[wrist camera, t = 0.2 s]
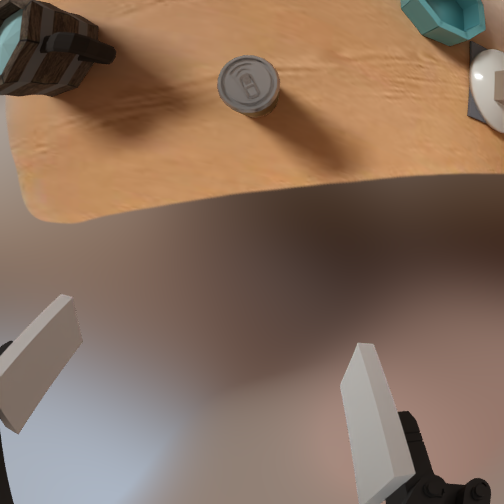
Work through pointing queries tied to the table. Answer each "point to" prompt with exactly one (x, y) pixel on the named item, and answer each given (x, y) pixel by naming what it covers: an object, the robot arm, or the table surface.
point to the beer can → (249, 85)
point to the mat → (471, 105)
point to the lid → (488, 87)
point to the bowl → (446, 19)
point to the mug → (46, 48)
